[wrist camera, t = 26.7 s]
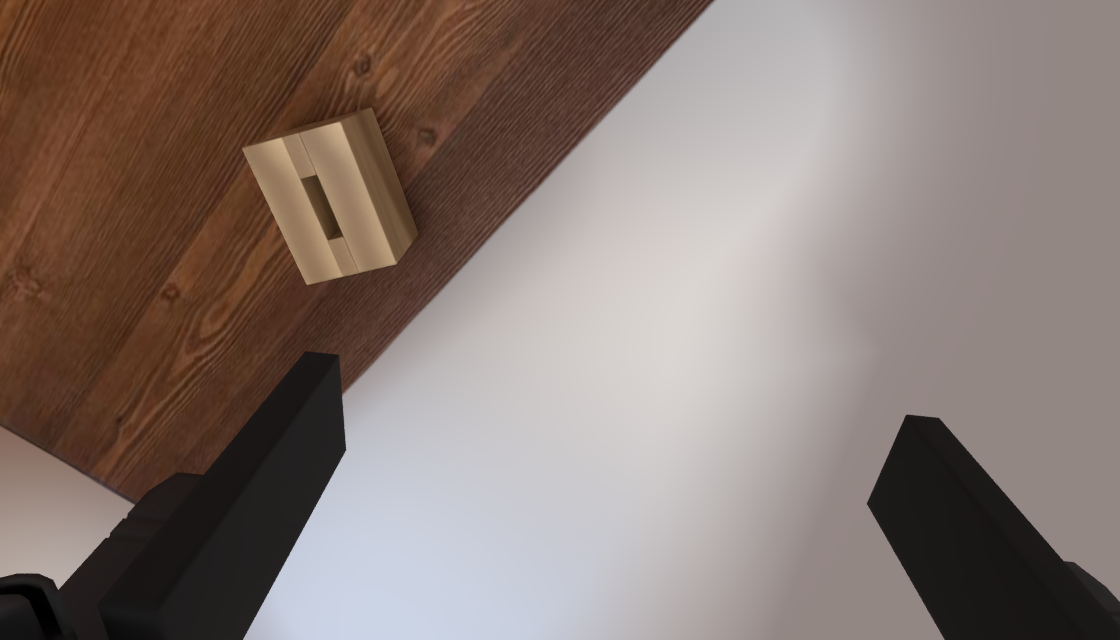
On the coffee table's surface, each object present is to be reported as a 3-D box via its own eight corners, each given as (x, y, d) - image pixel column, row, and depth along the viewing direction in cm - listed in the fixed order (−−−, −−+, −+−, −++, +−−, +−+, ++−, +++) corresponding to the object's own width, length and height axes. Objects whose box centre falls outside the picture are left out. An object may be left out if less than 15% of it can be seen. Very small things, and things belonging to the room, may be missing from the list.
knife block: (372, 106, 44) (340, 121, 38) (419, 234, 49) (396, 264, 43) (285, 130, 45) (241, 148, 39) (339, 253, 50) (306, 285, 44)
